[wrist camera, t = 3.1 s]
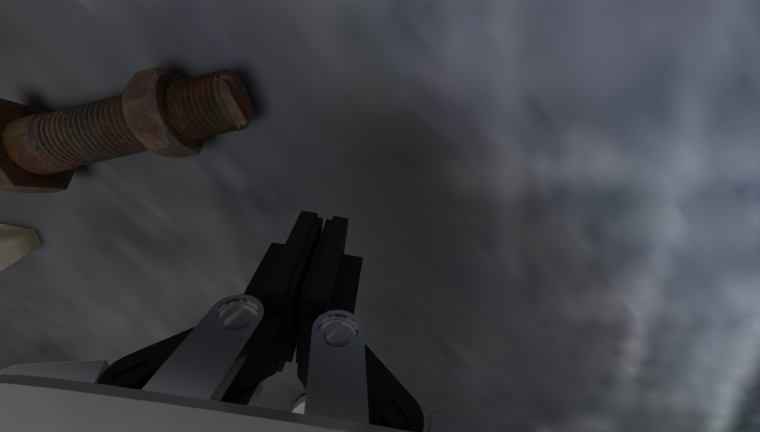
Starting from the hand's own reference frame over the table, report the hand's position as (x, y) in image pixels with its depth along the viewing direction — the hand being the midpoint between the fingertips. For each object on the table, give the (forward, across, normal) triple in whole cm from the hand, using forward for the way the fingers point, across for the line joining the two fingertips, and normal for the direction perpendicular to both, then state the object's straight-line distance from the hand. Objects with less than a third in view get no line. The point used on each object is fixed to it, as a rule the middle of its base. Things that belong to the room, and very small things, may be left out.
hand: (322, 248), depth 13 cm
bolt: (+12, +14, +1) cm, 18 cm away
